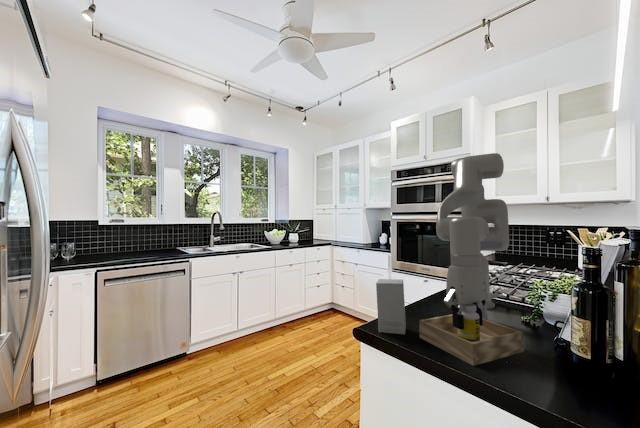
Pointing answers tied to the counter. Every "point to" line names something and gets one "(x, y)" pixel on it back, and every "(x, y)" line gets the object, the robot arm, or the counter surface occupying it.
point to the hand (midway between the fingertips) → (467, 325)
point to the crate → (490, 347)
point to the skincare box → (391, 306)
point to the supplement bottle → (470, 323)
